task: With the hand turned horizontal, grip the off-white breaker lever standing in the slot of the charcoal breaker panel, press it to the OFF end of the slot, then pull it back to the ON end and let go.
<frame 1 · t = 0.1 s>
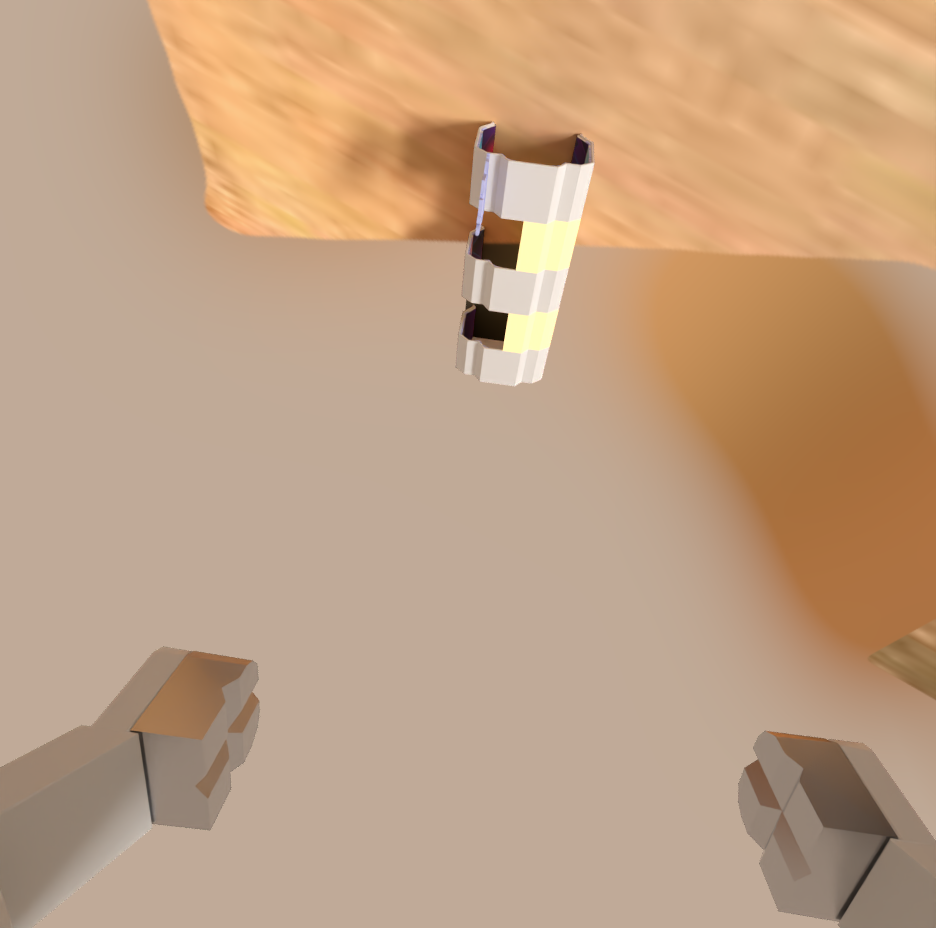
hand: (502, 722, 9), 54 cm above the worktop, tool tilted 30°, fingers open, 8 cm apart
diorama: (517, 249, 62), on the worktop
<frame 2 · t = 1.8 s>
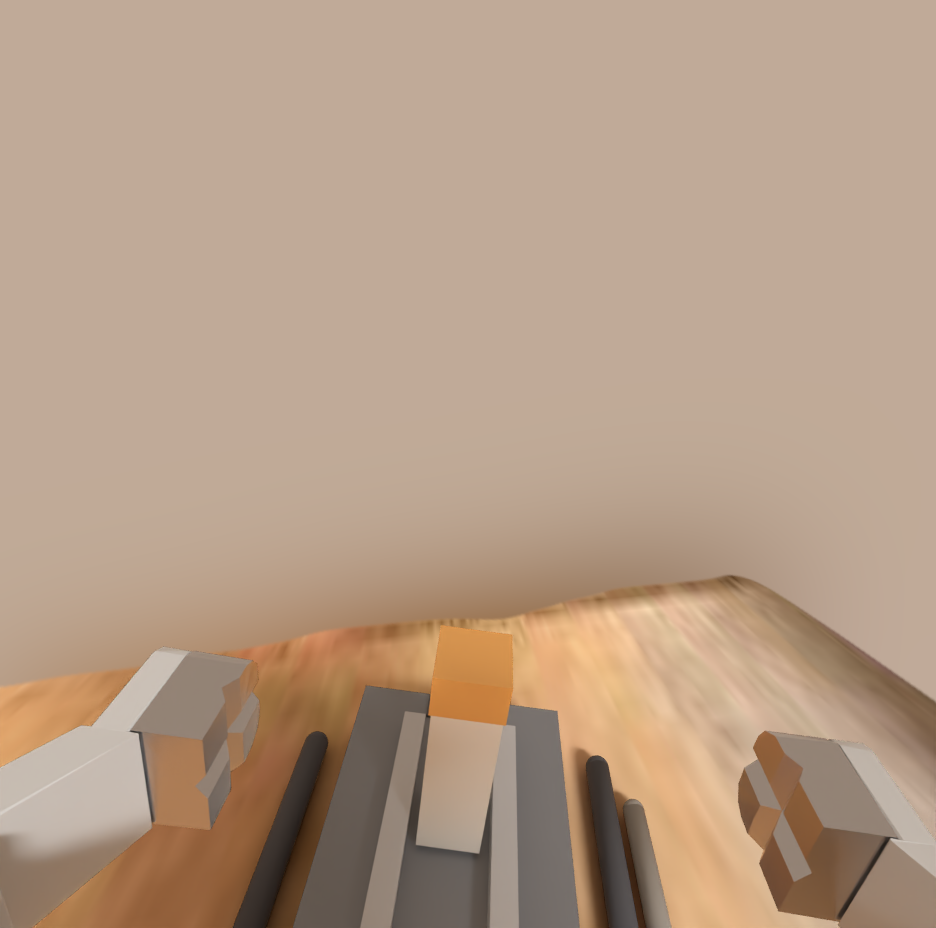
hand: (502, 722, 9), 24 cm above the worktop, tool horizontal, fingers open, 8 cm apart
cords: (442, 873, 30), on the worktop
breaker panel: (442, 873, 30), on the worktop
lever: (461, 743, 26), point 9 cm above the worktop, slide at 0.0 cm
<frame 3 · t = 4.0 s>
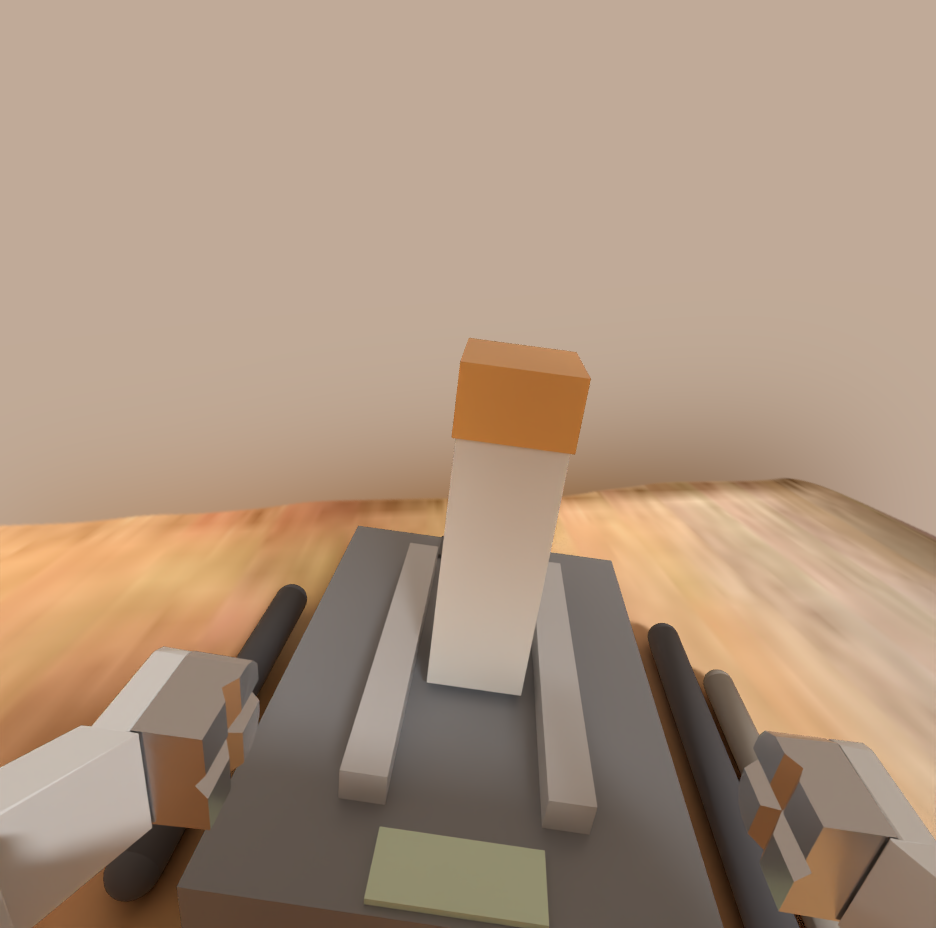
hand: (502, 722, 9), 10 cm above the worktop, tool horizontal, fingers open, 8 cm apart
cords: (461, 747, 21), on the worktop
breaker panel: (461, 747, 21), on the worktop
lever: (497, 523, 17), point 9 cm above the worktop, slide at 0.0 cm
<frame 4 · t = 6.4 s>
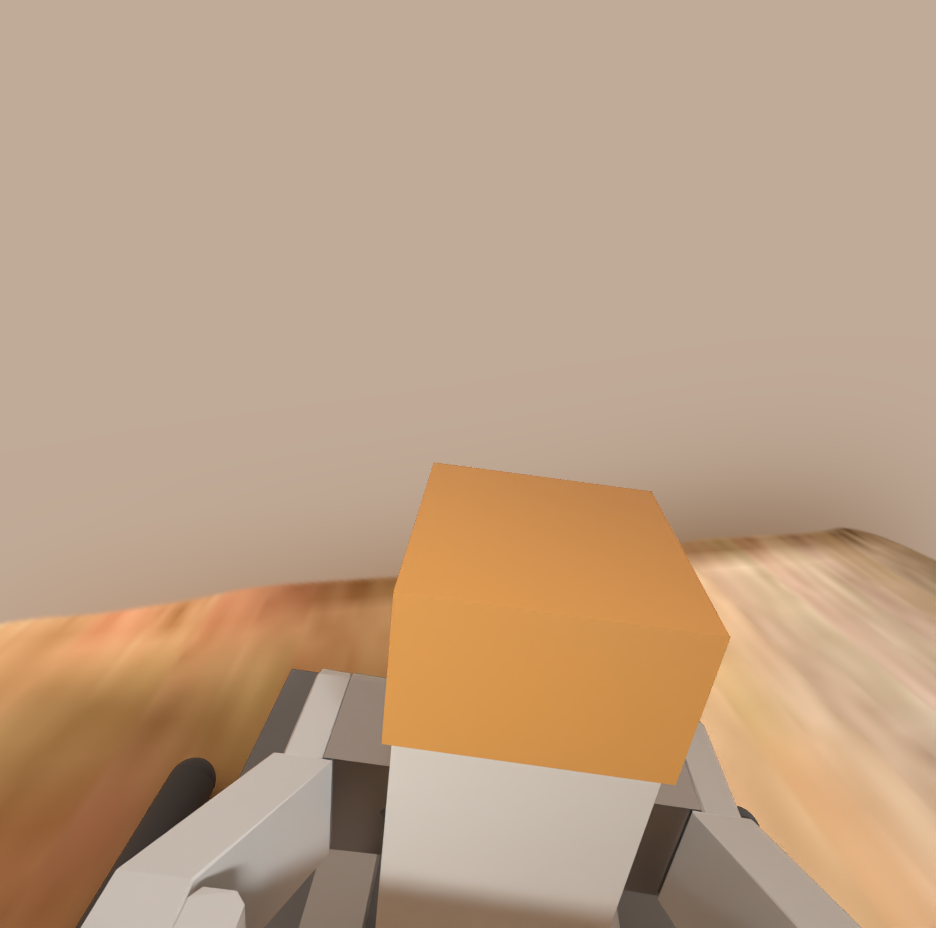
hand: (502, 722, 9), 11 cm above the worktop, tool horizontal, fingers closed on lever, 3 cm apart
lever: (492, 818, 9), point 9 cm above the worktop, slide at 0.0 cm, touching gripper
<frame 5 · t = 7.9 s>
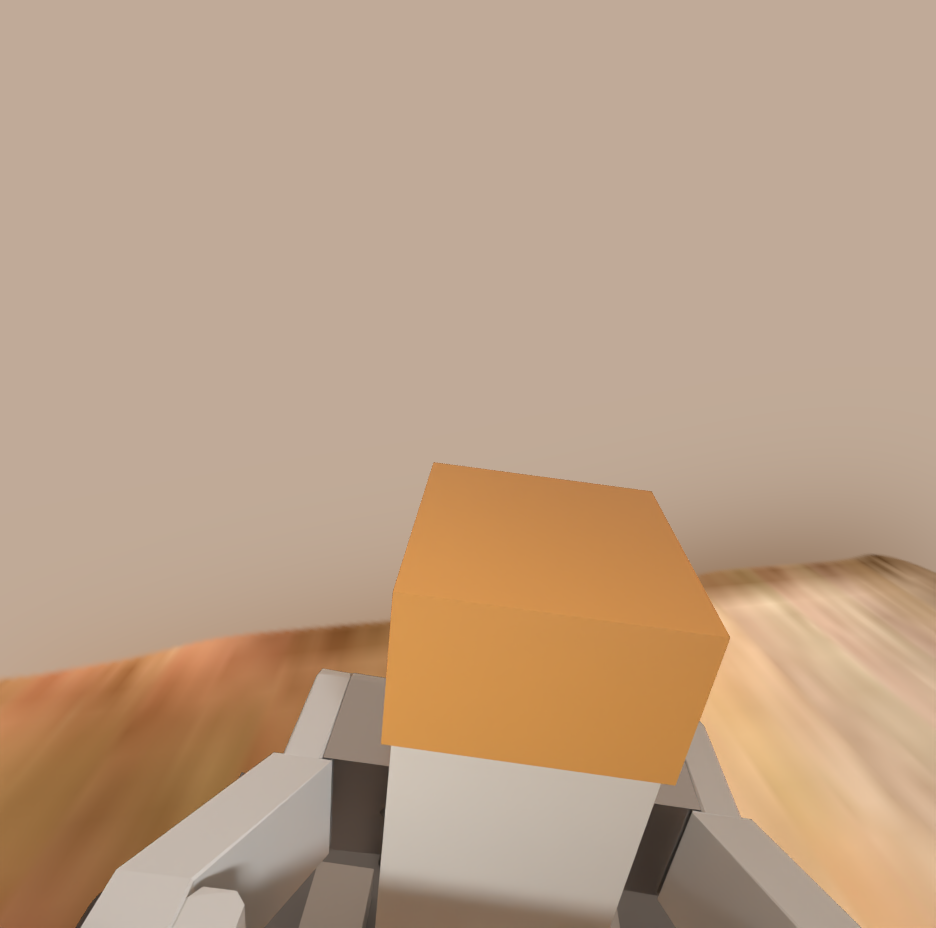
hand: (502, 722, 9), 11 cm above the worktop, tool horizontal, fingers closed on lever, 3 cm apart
lever: (492, 818, 9), point 9 cm above the worktop, slide at -3.8 cm, touching gripper
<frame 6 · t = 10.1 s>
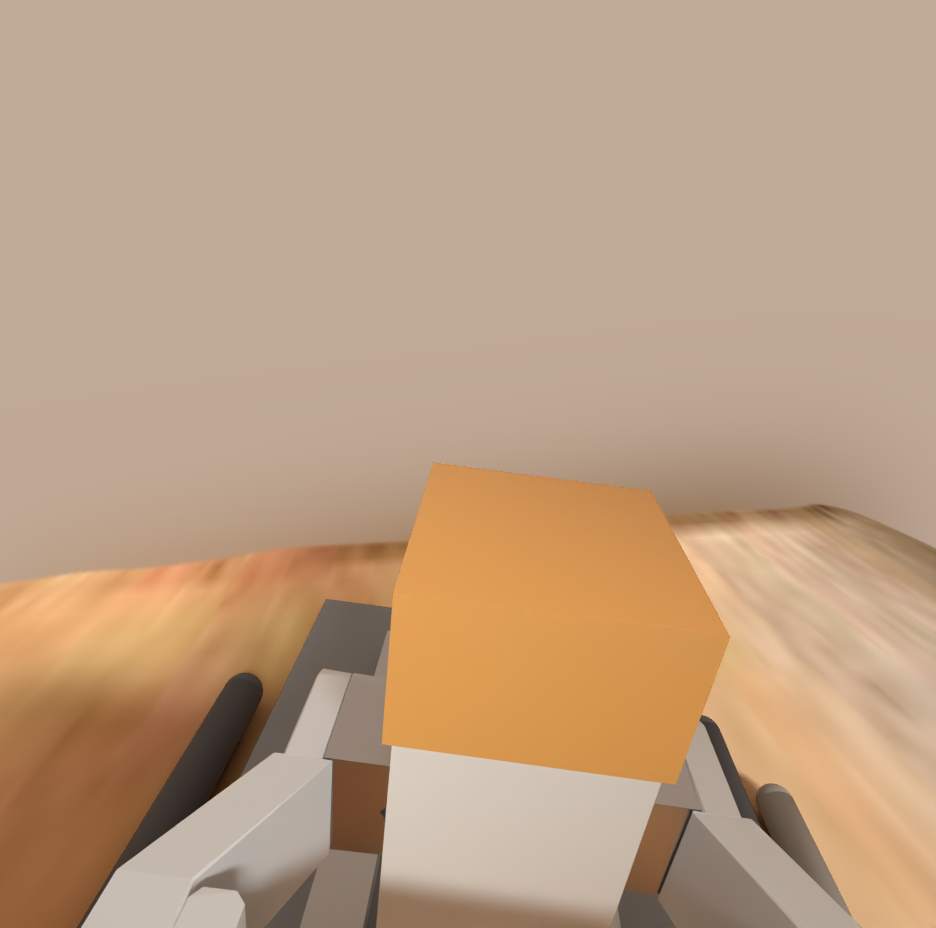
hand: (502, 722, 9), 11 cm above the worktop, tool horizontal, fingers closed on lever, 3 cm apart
cords: (451, 916, 16), on the worktop
breaker panel: (451, 916, 16), on the worktop
lever: (493, 818, 9), point 9 cm above the worktop, slide at 3.8 cm, touching gripper
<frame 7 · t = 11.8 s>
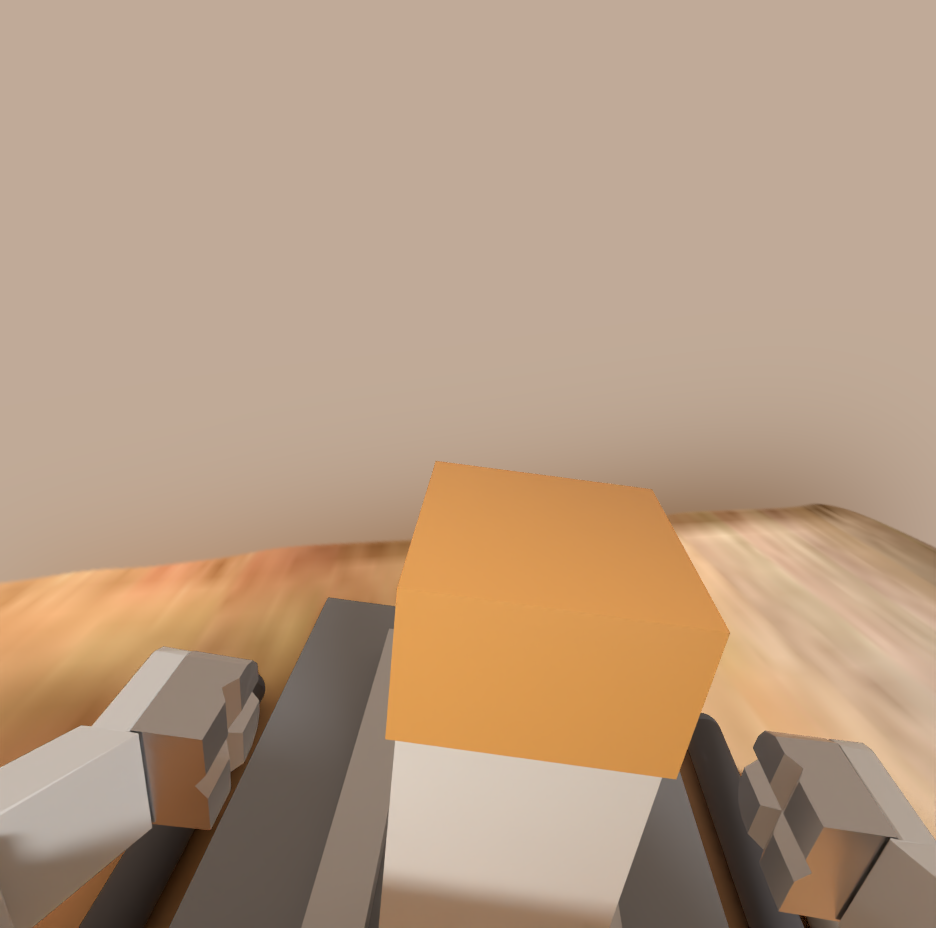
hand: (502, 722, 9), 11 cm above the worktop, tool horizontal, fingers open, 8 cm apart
cords: (453, 912, 16), on the worktop
breaker panel: (453, 912, 16), on the worktop
lever: (495, 814, 9), point 9 cm above the worktop, slide at 3.8 cm
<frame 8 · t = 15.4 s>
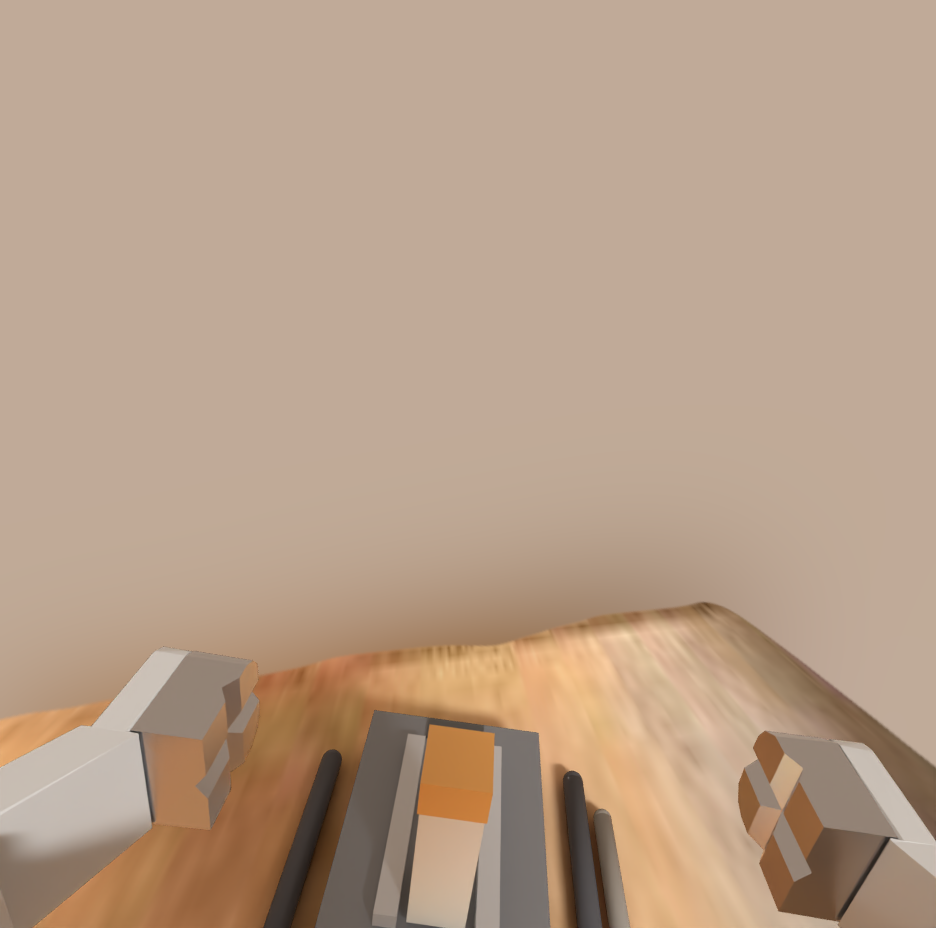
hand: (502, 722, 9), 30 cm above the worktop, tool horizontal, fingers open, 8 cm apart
cords: (438, 871, 36), on the worktop
breaker panel: (438, 871, 36), on the worktop
lever: (448, 830, 28), point 9 cm above the worktop, slide at 3.8 cm
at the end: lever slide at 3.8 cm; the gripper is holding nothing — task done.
